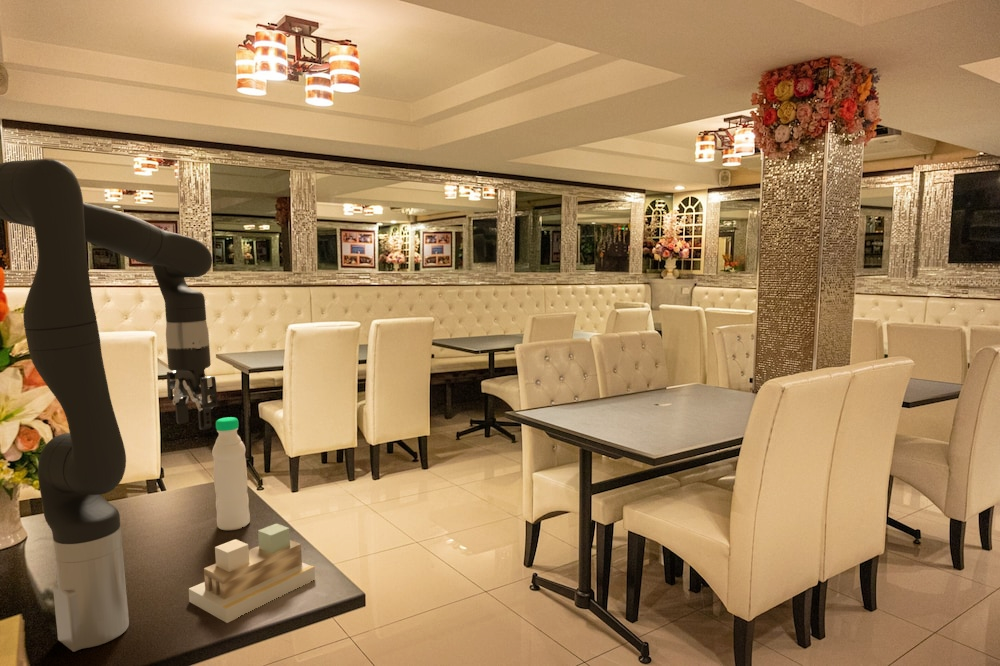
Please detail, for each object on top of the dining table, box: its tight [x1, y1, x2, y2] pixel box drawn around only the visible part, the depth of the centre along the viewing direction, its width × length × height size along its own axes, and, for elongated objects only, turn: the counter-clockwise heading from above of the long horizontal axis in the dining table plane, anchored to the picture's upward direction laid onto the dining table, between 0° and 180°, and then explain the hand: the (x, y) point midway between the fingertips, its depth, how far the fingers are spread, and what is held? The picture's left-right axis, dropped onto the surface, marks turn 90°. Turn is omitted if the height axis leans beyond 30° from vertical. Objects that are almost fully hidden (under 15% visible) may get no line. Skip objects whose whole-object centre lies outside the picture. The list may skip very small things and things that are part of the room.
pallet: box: [203, 539, 303, 600], centre depth 121 cm, size 16×6×4 cm, turn 144°
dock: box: [188, 561, 316, 624], centre depth 121 cm, size 18×12×3 cm, turn 144°
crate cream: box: [214, 539, 250, 572], centre depth 117 cm, size 4×4×4 cm
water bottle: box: [211, 416, 251, 531], centre depth 150 cm, size 7×7×25 cm
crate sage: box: [257, 522, 291, 554], centre depth 124 cm, size 4×4×4 cm
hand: (194, 425), depth 130 cm, fingers open, 8 cm apart
